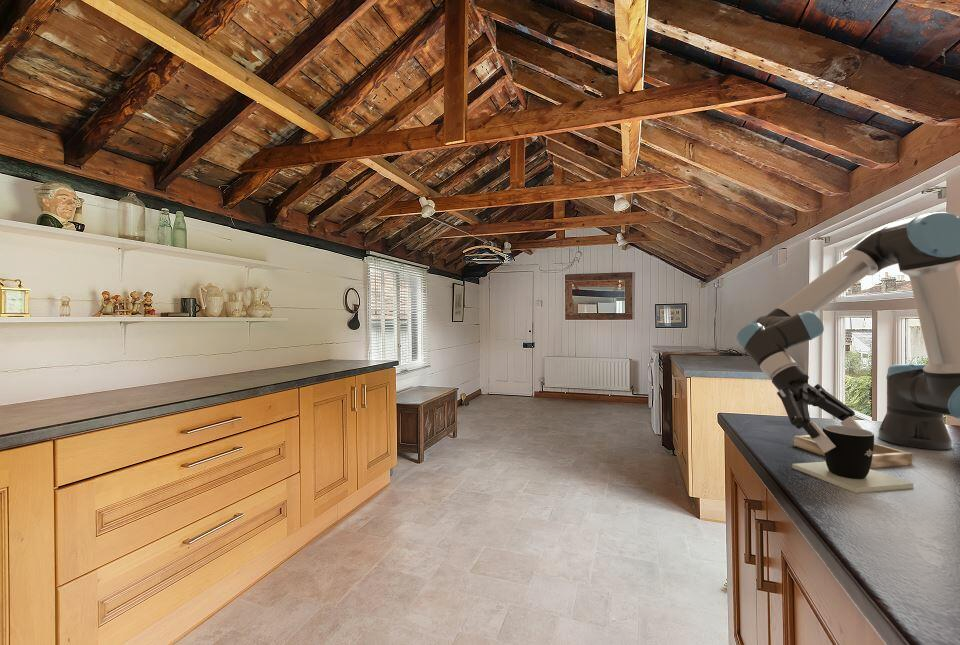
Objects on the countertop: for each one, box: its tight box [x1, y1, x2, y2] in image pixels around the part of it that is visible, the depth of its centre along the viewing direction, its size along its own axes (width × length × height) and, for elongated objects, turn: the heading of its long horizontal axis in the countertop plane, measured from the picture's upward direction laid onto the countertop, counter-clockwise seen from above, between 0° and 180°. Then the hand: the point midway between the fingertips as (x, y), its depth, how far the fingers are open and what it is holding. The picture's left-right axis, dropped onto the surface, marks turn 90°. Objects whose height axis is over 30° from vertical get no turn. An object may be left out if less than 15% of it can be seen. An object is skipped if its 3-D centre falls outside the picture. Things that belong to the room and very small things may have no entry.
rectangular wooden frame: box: [793, 434, 913, 469], centre depth 115 cm, size 15×18×3 cm
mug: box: [822, 424, 875, 479], centre depth 99 cm, size 12×9×10 cm
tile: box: [791, 461, 915, 494], centre depth 99 cm, size 15×15×1 cm
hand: (849, 446), depth 99 cm, fingers open, 13 cm apart
